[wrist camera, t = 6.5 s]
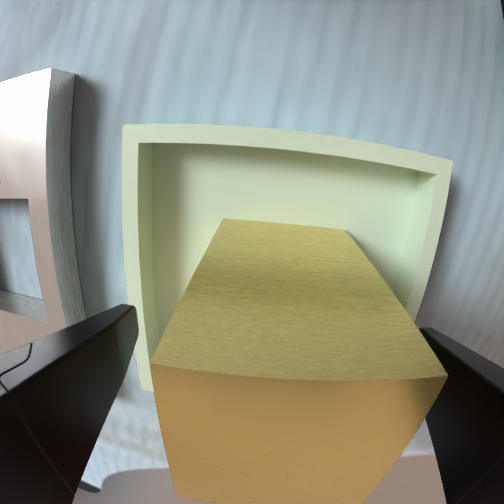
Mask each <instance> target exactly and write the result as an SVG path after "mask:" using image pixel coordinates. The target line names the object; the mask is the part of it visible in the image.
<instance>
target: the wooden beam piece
mask: <svg viewBox="0 0 504 504" xmlns="http://www.w3.org/2000/svg"><path fill="white" fill-rule="evenodd" d="M150 370H151V377H152V383H153V390H154V396H155V402H156V407H157V413H158V418H159V423H160V428H161V433H162V438H163V443H164V447H165V452H166V456H167V461H168V465H169V469H170V473H171V477H172V481H173V485H174V489H175V492H176V496H177V497H181V498H186V499H192V500H199V501H206V502H213V503H221V504H358V503H363V502H364V501H365V500H366V499H367V498H368V496H369V495H370V494H371V493H372V492H373V490H374V489H375V488H376V487H377V486H378V484H379V483H380V482H381V481H382V479H383V478H384V477H385V475H386V474H387V473H388V472H389V470H390V469H391V467H392V466H393V465H394V463H395V462H396V461H397V459H398V458H399V457H400V455H401V454H402V452H403V451H404V449H405V448H406V447H407V445H408V444H409V442H410V441H411V439H412V438H413V436H414V435H415V433H416V431H417V430H418V428H419V427H420V425H421V424H422V422H423V420H424V419H425V417H426V415H427V414H428V412H429V410H430V409H431V407H432V405H433V403H434V402H435V400H436V398H437V396H438V395H439V393H440V391H441V389H442V387H443V385H444V383H445V382H446V380H447V378H448V374H447V373H446V371H445V369H444V368H443V366H442V364H441V363H440V361H439V360H438V358H437V357H436V355H435V353H434V352H433V350H432V349H431V347H430V346H429V344H428V343H427V341H426V340H425V338H424V337H423V335H422V334H421V332H420V331H419V329H418V328H417V326H416V325H415V323H414V322H413V320H412V319H411V317H410V316H409V315H408V313H407V312H406V310H405V309H404V307H403V306H402V305H401V303H400V302H399V300H398V299H397V297H396V296H395V295H394V293H393V292H392V291H391V289H390V288H389V286H388V285H387V284H386V282H385V281H384V280H383V278H382V277H381V276H380V274H379V273H378V271H377V270H376V269H375V267H374V266H373V265H372V263H371V262H370V261H369V260H368V258H367V257H366V256H365V254H364V253H363V252H362V250H361V249H360V248H359V247H358V245H357V244H356V243H355V241H354V240H353V239H352V238H351V236H350V235H349V234H348V233H347V231H346V230H344V229H335V228H325V227H315V226H306V225H295V224H285V223H274V222H263V221H252V220H241V219H229V218H223V219H222V221H221V223H220V225H219V227H218V229H217V230H216V232H215V234H214V236H213V238H212V240H211V242H210V244H209V245H208V247H207V249H206V251H205V253H204V255H203V257H202V259H201V261H200V263H199V265H198V267H197V268H196V270H195V272H194V274H193V276H192V278H191V280H190V282H189V284H188V286H187V288H186V290H185V292H184V294H183V296H182V298H181V300H180V302H179V304H178V306H177V308H176V310H175V312H174V314H173V316H172V318H171V320H170V322H169V324H168V326H167V328H166V330H165V332H164V334H163V336H162V338H161V340H160V342H159V344H158V346H157V348H156V350H155V353H154V355H153V357H152V359H151V361H150Z"/></svg>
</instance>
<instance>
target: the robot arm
mask: <svg viewBox="0 0 504 504" xmlns="http://www.w3.org/2000/svg"><path fill="white" fill-rule="evenodd" d="M501 5H502V11H503V17H504V0H501ZM419 331H420V332H421V334H422V335H423V337H424V338H425V340H426V341H427V343H428V344H429V346H430V347H431V349H432V350H433V352H434V353H435V355H436V357H437V358H438V360H439V361H440V363H441V364H442V366H443V368H444V369H445V371H446V373H447V374H448V378H447V380H446V382H445V383H444V385H443V387H442V389H441V391H440V393H439V395H438V396H437V398H436V400H435V402H434V403H433V405H432V407H431V409H430V410H429V412H428V414H427V415H426V417H425V419H426V422H427V426H428V429H429V433H430V436H431V440H432V444H433V447H434V451H435V455H436V459H437V463H438V467H439V471H440V475H441V480H442V484H443V489H444V493H445V498H446V503H447V504H504V368H502V367H500V366H498V365H497V364H495V363H493V362H491V361H490V360H488V359H486V358H484V357H483V356H481V355H479V354H477V353H476V352H474V351H472V350H470V349H468V348H467V347H465V346H463V345H461V344H460V343H458V342H456V341H454V340H452V339H451V338H449V337H447V336H445V335H443V334H442V333H440V332H438V331H436V330H434V329H433V328H420V329H419ZM138 335H139V326H138V318H137V310H136V307H135V306H133V305H128V304H121V305H118V306H116V307H113V308H111V309H109V310H106V311H104V312H102V313H99V314H97V315H95V316H92V317H90V318H87V319H85V320H83V321H80V322H78V323H76V324H73V325H71V326H69V327H66V328H64V329H61V330H59V331H57V332H54V333H52V334H50V335H47V336H45V337H43V338H40V339H38V340H35V341H33V343H28V344H26V345H24V346H21V347H19V348H16V349H14V350H11V351H9V352H6V353H3V354H0V504H72V502H73V499H74V497H75V495H74V494H75V493H76V491H77V488H78V486H79V483H80V480H81V478H82V475H83V473H84V470H85V468H86V465H87V463H88V460H89V458H90V455H91V453H92V451H93V448H94V446H95V443H96V441H97V439H98V436H99V434H100V432H101V429H102V427H103V425H104V422H105V420H106V418H107V416H108V413H109V411H110V409H111V406H112V404H113V402H114V400H115V398H116V395H117V393H118V391H119V389H120V387H121V384H122V382H123V380H124V377H125V375H126V372H127V369H128V366H129V363H130V360H131V357H132V354H133V351H134V348H135V345H136V342H137V339H138Z"/></svg>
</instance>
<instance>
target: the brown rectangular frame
mask: <svg viewBox="0 0 504 504" xmlns="http://www.w3.org/2000/svg"><path fill="white" fill-rule="evenodd" d="M74 82H75V73H70V72H66V71H62V70H57V69H53V68H50V69H46V70H42V71H38V72H34V73H30V74H27V75H23V76H20V77H17V78H13V79H10V80H7V81H4V82H1V83H0V199H1V198H7V199H28V204H29V216H30V225H31V234H32V241H33V248H34V255H35V261H36V267H37V272H38V278H39V283H40V288H41V293H42V297H43V300H41V299H36V298H32V297H27V296H23V295H19V294H15V293H11V292H7V291H3V290H0V354H3V353H6V352H9V351H11V350H14V349H16V348H19V347H21V346H24V345H26V344H28V343H33V341H35V340H38V339H40V338H43V337H45V336H47V335H50V334H52V333H54V332H57V331H59V330H61V329H64V328H66V327H69V326H71V325H73V324H76V323H78V322H80V321H83V320H85V319H86V314H85V309H84V304H83V298H82V292H81V286H80V279H79V272H78V265H77V257H76V248H75V239H74V228H73V215H72V198H71V121H72V104H73V92H74Z"/></svg>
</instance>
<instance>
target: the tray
mask: <svg viewBox="0 0 504 504" xmlns="http://www.w3.org/2000/svg"><path fill="white" fill-rule="evenodd" d="M452 164H453V161H452V160H449V159H445V158H441V157H437V156H433V155H429V154H425V153H421V152H416V151H412V150H407V149H403V148H398V147H393V146H388V145H383V144H378V143H373V142H367V141H362V140H356V139H350V138H343V137H337V136H330V135H323V134H315V133H308V132H299V131H290V130H281V129H270V128H258V127H245V126H228V125H204V124H135V125H123V131H122V161H121V200H122V231H123V249H124V264H125V276H126V287H127V297H128V305H133V306H135V307H136V310H137V318H138V326H139V335H138V339H137V342H136V345H135V348H134V350H135V356H136V362H137V368H138V374H139V379H140V385H141V389H143V390H148V391H154V390H153V383H152V377H151V370H150V361H151V359H152V357H153V355H154V353H155V350H156V348H157V346H158V344H159V342H160V340H161V338H162V336H163V334H164V332H165V330H166V328H167V326H168V324H169V322H170V320H171V318H172V316H173V314H174V312H175V310H176V308H177V306H178V304H179V302H180V300H181V298H182V296H183V294H184V292H185V290H186V288H187V286H188V284H189V282H190V280H191V278H192V276H193V274H194V272H195V270H196V268H197V267H198V265H199V263H200V261H201V259H202V257H203V255H204V253H205V251H206V249H207V247H208V245H209V244H210V242H211V240H212V238H213V236H214V234H215V232H216V230H217V229H218V227H219V225H220V223H221V221H222V219H223V218H229V219H241V220H252V221H263V222H274V223H285V224H295V225H306V226H315V227H325V228H335V229H344V230H346V231H347V233H348V234H349V235H350V236H351V238H352V239H353V240H354V241H355V243H356V244H357V245H358V247H359V248H360V249H361V250H362V252H363V253H364V254H365V256H366V257H367V258H368V260H369V261H370V262H371V263H372V265H373V266H374V267H375V269H376V270H377V271H378V273H379V274H380V276H381V277H382V278H383V280H384V281H385V282H386V284H387V285H388V286H389V288H390V289H391V291H392V292H393V293H394V295H395V296H396V297H397V299H398V300H399V302H400V303H401V305H402V306H403V307H404V309H405V310H406V312H407V313H408V315H409V316H410V317H411V319H412V320H413V322H414V323H415V320H416V317H417V314H418V311H419V308H420V305H421V302H422V299H423V295H424V292H425V289H426V285H427V282H428V279H429V275H430V272H431V268H432V264H433V260H434V257H435V253H436V249H437V244H438V240H439V236H440V232H441V227H442V222H443V218H444V213H445V207H446V202H447V197H448V191H449V185H450V178H451V172H452Z"/></svg>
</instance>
